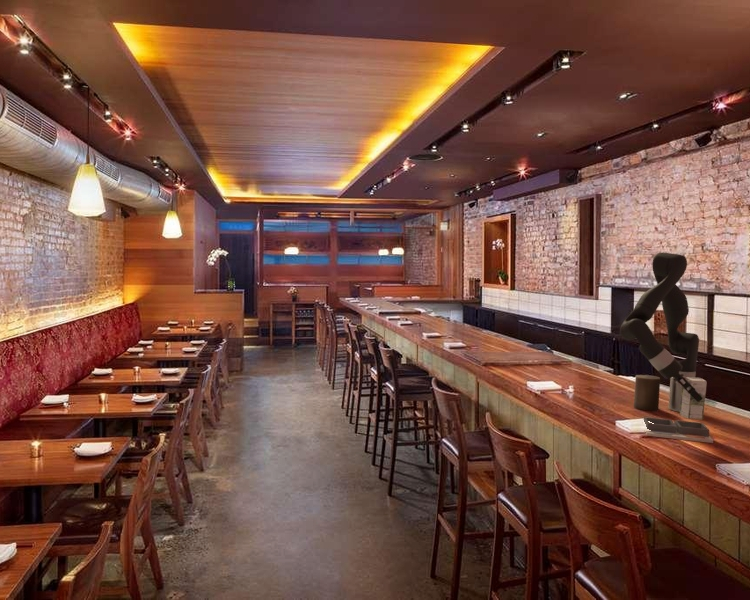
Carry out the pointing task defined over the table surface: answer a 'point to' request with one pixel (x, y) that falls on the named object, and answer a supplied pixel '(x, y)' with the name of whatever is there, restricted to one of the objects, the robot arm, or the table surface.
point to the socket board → (677, 429)
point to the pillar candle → (647, 392)
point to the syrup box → (693, 400)
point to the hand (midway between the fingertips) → (697, 397)
